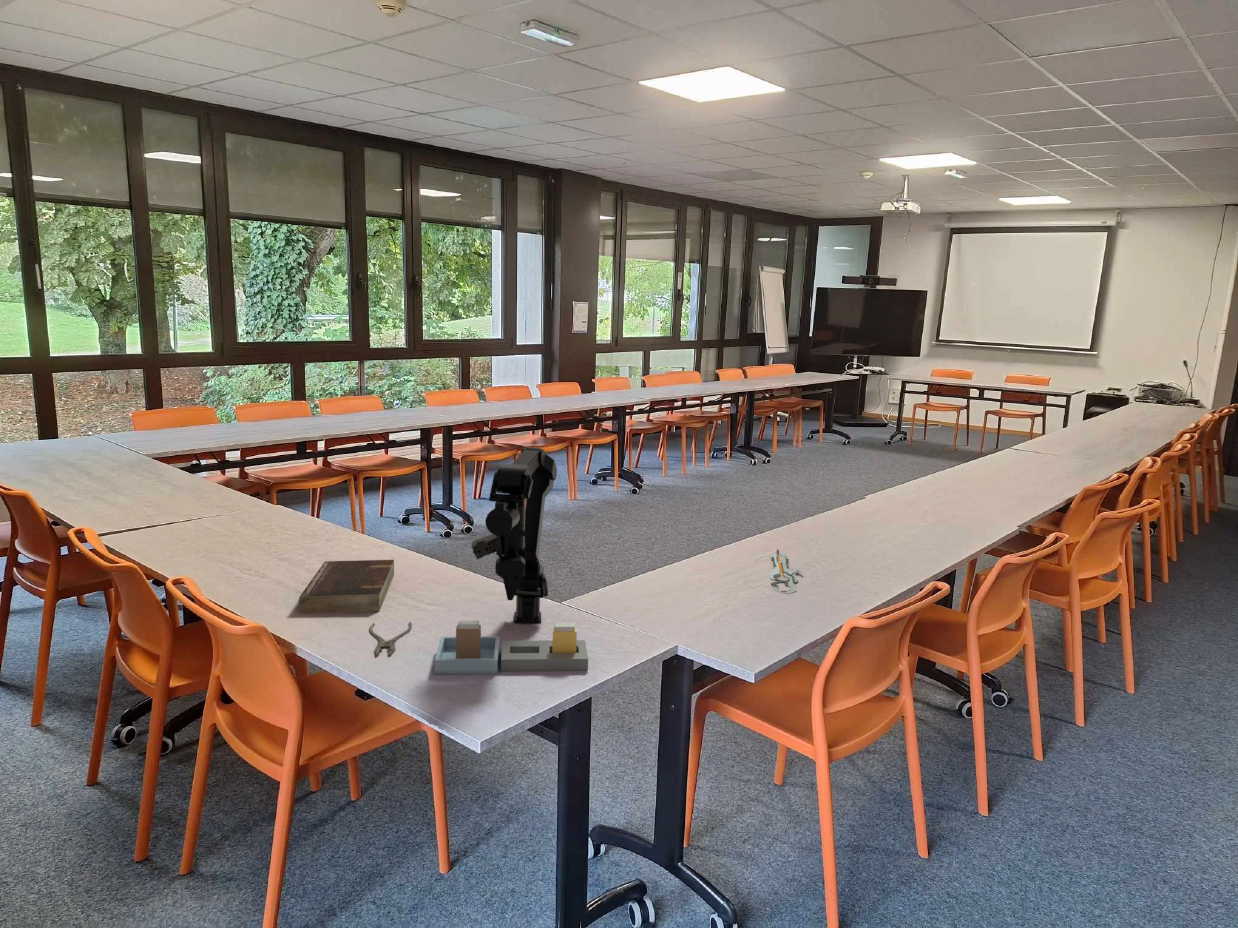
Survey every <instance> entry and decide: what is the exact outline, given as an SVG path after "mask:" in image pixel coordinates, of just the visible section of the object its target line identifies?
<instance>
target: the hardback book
mask: <svg viewBox="0 0 1238 928" xmlns="http://www.w3.org/2000/svg"><path fill="white" fill-rule="evenodd" d="M394 576H395V559H373V560H372V559H370V560H366V559H365V560H360V559H359V560H329V561H326V560H325V561H324V562H323V563H322V565H321V566H320V567H319V568H318V570H317V572H316V573H315V574H314V576H313V577H312V578H311V580H310V582H309V583H308V584H307V586H306V587H305V588H304V590H303V591H302V592H301V594H300V596H299V598H298V601H297V602H298V613H299V614H316V613H319V614H321V613H326V614H328V613H331V614H332V613H334V614H335V613H380V611H381V608H382V606H383V603H384V600H385V599H386V596H387V594H388V591H389V589H390V586H391V585H392V581H393V578H394Z"/></svg>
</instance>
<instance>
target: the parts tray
mask: <svg viewBox="0 0 1238 928" xmlns="http://www.w3.org/2000/svg"><path fill="white" fill-rule="evenodd" d="M500 637H501V636H500V635H498V636H496V635H494V636H493V635H491V636H490V635H489V636H488V635H487V636H482V635H481V657H480V658H474V659H456V636H440V639H439V644H438V646H437V649H436V650H437V651H436V654H435V657H434V675H489V674H490V675H492V674H495V675H497V674H498V668H499V659H500V658H499V657H500V644H501V643H500Z"/></svg>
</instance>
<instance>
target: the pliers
mask: <svg viewBox="0 0 1238 928" xmlns="http://www.w3.org/2000/svg"><path fill="white" fill-rule="evenodd" d="M375 625H376V623H375V622H372V624H371V625H369V629H368V631H369V634H370V635H371V636H373V638H375V639H376V640H377V642H378V643H377V645H376V646H375V648H374V655H375V658H378V657H379V656H380V653H382V652H383V650H384V649H387V652H388V657H392V655H393V654H394V653H395V652H396V646H395V643H396V642H397V641H398V640H399V639H401V638H402V637H404V636H405V635H407V634H409V633H410V632H411V630H412V628H413V624H412V622H411V621H409V622H408V628H407V629H406V630H404V631H403V632H401V633H400V634H398V635H396V636H394V637H393V638H391V639H389V640H385V639H384V638H383V637H381V636H380V635H379V634H377V633H376V632H374V631H373V628H374V627H375Z"/></svg>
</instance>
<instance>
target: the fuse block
mask: <svg viewBox="0 0 1238 928" xmlns="http://www.w3.org/2000/svg"><path fill="white" fill-rule="evenodd" d="M501 642H502V644H501V655H500V656H501V657H500V672H518V671H519V672H522V671H523V672H527V671H528V672H531V671H535V672H536V671H538V672H539V671H540V672H541V671H543V672H544V671H545V672H547V671H588V670H589V656H588V650H587V645H586V640H585V639H584V640H583V639H581V640H579V639H577V641H576V653H552V640H551V639H549V640H540V639H539V640H502V641H501Z"/></svg>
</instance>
